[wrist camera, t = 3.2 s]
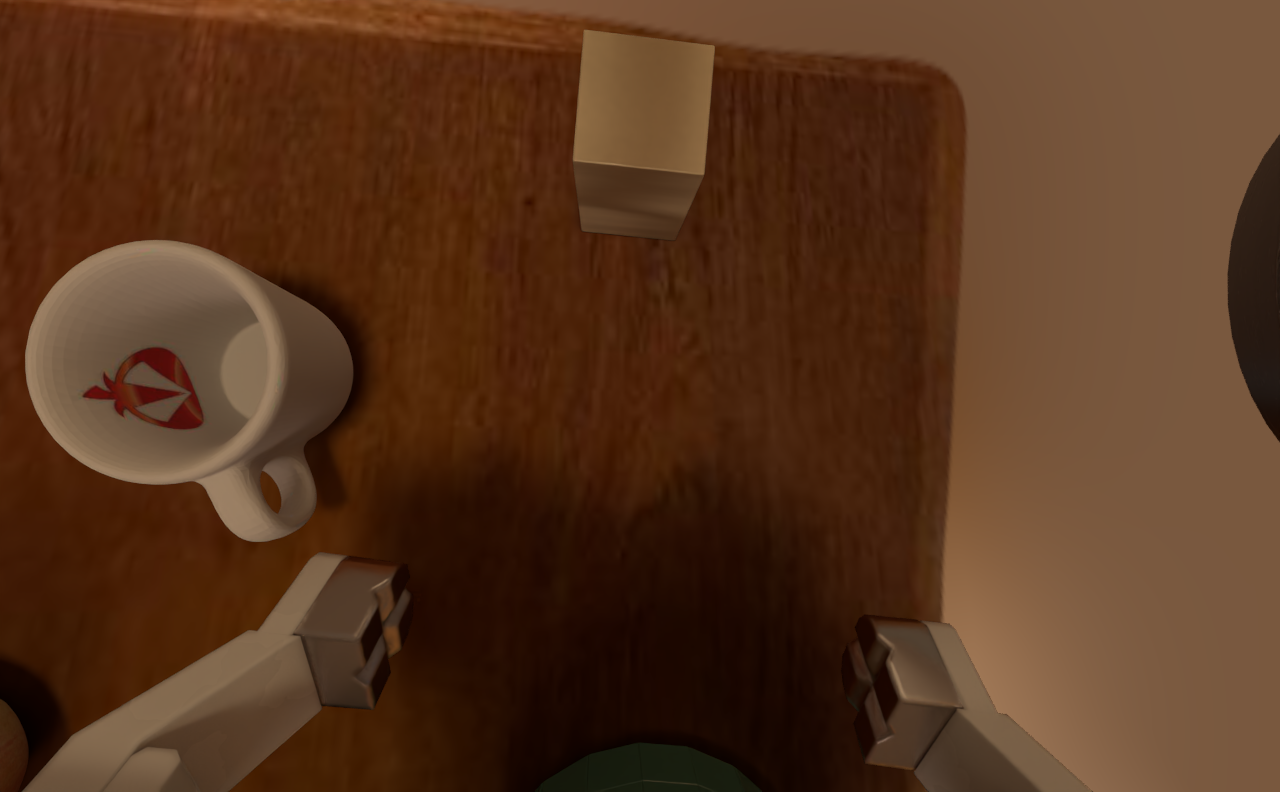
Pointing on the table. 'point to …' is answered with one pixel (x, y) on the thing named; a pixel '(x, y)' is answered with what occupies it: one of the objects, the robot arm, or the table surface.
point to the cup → (189, 378)
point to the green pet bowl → (649, 772)
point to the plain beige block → (640, 132)
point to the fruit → (12, 750)
